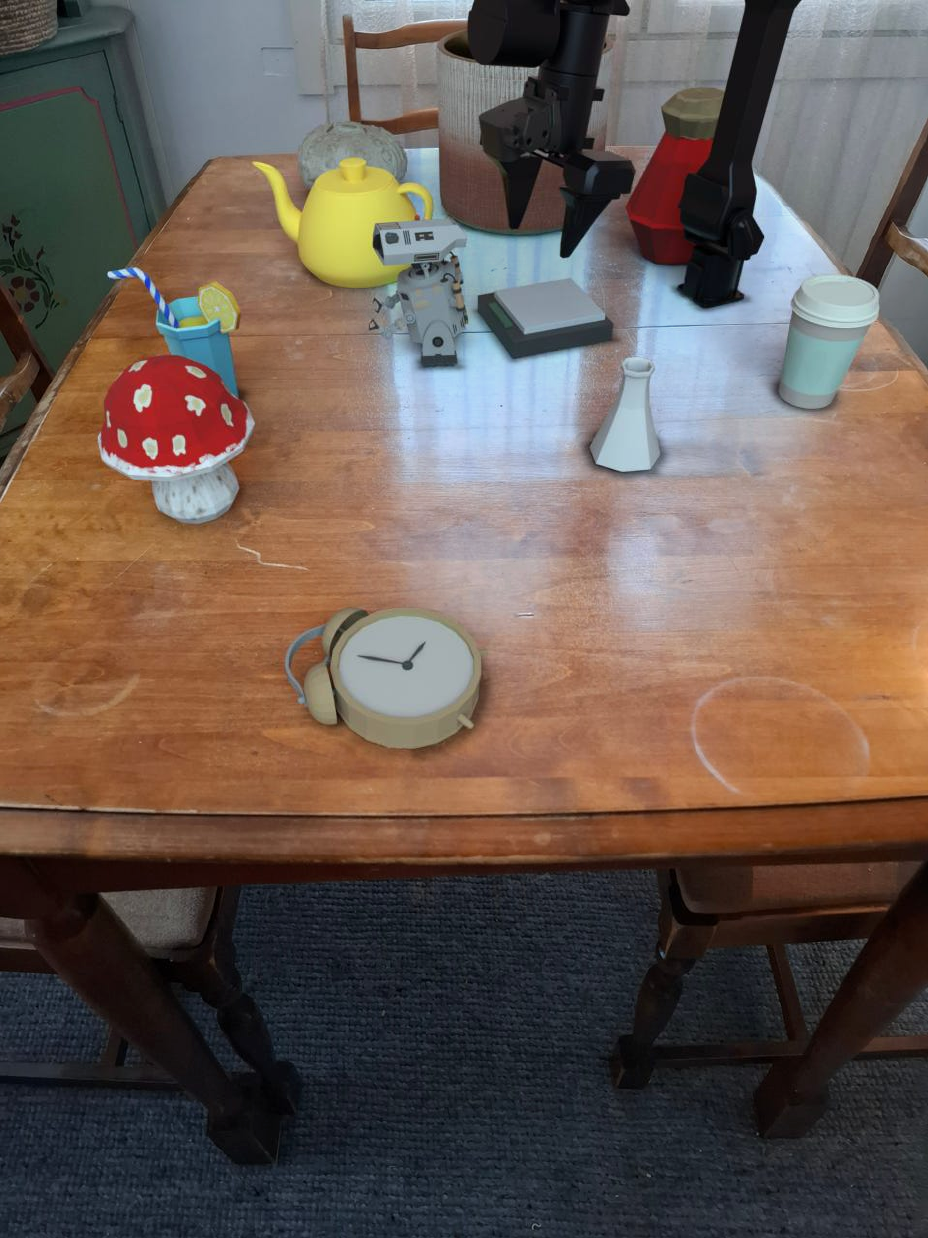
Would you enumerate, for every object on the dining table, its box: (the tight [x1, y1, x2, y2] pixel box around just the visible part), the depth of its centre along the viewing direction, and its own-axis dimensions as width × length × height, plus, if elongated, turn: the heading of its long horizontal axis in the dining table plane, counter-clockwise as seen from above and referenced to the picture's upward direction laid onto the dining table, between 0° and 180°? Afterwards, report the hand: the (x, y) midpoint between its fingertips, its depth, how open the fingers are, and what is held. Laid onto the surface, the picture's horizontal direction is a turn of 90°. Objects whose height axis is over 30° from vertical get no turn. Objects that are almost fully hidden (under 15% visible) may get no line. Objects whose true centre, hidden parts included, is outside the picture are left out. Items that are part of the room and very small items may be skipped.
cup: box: [107, 266, 242, 399], centre depth 85 cm, size 14×8×15 cm, turn 80°
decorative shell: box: [296, 119, 409, 192], centre depth 130 cm, size 18×18×10 cm
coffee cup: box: [778, 273, 880, 410], centre depth 85 cm, size 8×8×12 cm
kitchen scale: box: [477, 277, 614, 360], centre depth 100 cm, size 13×13×3 cm
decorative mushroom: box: [97, 354, 256, 525], centre depth 72 cm, size 14×14×15 cm
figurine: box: [368, 214, 469, 368], centre depth 92 cm, size 9×12×15 cm
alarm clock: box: [284, 606, 489, 750], centre depth 61 cm, size 11×5×15 cm
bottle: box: [624, 86, 725, 267], centre depth 108 cm, size 16×14×20 cm
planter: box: [435, 28, 615, 236], centre depth 120 cm, size 25×25×22 cm
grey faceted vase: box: [589, 356, 661, 473], centre depth 79 cm, size 7×7×10 cm
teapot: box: [251, 158, 435, 289], centre depth 109 cm, size 25×18×14 cm
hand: (538, 242), depth 86 cm, fingers open, 9 cm apart
